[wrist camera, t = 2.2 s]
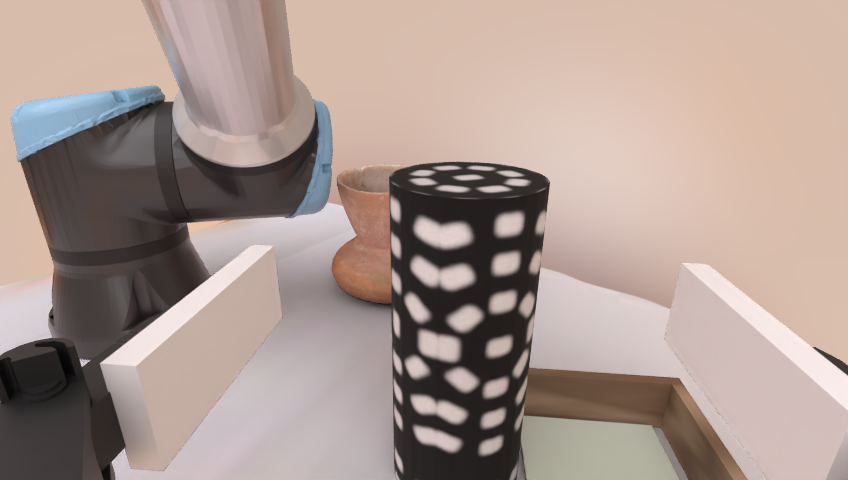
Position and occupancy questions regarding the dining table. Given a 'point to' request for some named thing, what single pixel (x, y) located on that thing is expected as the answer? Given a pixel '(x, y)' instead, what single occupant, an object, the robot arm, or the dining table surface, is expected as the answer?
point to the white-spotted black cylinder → (462, 315)
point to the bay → (616, 429)
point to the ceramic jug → (366, 233)
